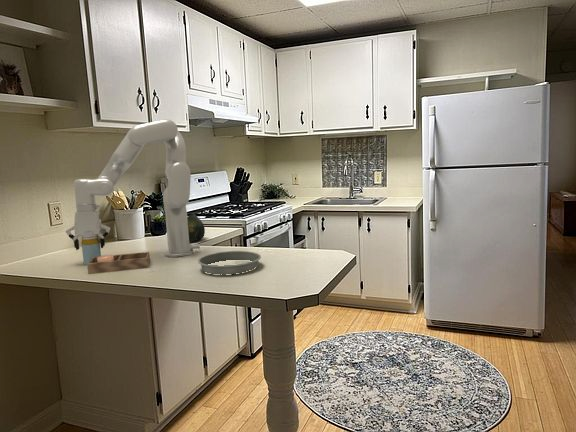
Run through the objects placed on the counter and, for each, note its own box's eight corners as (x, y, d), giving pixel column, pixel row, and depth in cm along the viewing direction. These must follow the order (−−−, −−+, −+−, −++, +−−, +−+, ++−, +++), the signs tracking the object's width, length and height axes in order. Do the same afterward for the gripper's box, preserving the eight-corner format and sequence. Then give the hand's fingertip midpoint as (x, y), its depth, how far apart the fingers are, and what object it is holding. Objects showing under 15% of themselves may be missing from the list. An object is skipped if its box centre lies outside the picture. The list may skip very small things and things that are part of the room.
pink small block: (115, 266, 182) (114, 254, 181) (113, 269, 176) (112, 257, 175) (99, 267, 180) (98, 255, 180) (97, 271, 175) (95, 259, 174)
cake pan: (245, 279, 159) (244, 267, 158) (186, 275, 167) (185, 264, 166) (271, 262, 181) (270, 251, 181) (218, 259, 190) (217, 249, 189)
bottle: (90, 268, 184) (86, 233, 182) (80, 266, 188) (76, 232, 185) (105, 264, 190) (101, 230, 188) (95, 262, 194) (91, 229, 191)
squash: (168, 234, 224) (186, 211, 223) (175, 230, 239) (192, 208, 238) (190, 251, 225) (208, 229, 224) (196, 246, 240) (213, 225, 239)
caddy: (150, 263, 188) (149, 251, 187) (148, 270, 177) (147, 257, 176) (93, 269, 183) (92, 257, 182) (88, 276, 172) (87, 263, 171)
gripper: (109, 206, 191) (112, 245, 193) (65, 208, 187) (69, 248, 189) (107, 208, 184) (110, 248, 186) (61, 210, 179) (65, 252, 182)
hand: (90, 248), depth 187 cm, fingers open, 9 cm apart
